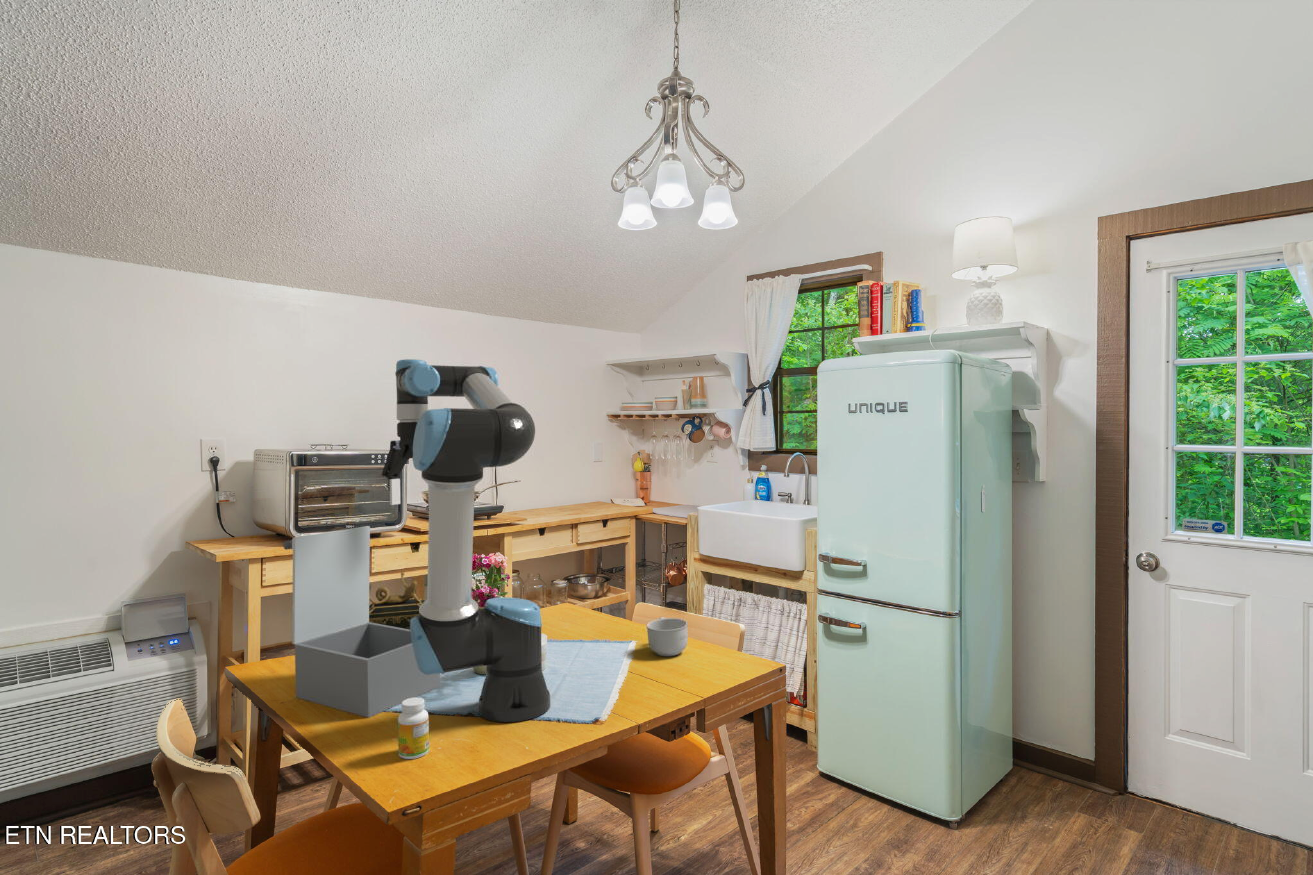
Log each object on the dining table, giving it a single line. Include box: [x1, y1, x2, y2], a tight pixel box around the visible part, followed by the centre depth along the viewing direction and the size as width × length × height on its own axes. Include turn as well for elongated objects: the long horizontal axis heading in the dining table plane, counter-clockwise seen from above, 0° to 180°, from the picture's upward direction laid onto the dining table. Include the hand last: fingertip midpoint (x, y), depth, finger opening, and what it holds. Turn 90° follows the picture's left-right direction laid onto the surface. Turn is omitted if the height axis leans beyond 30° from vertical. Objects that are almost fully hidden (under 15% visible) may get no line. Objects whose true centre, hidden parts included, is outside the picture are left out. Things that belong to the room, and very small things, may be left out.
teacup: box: [646, 616, 689, 657], centre depth 190 cm, size 14×11×8 cm
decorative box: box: [369, 570, 426, 630], centre depth 198 cm, size 20×10×20 cm, turn 107°
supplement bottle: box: [397, 696, 430, 760], centre depth 132 cm, size 5×5×10 cm
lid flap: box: [282, 525, 371, 645], centre depth 171 cm, size 24×20×9 cm
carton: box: [294, 622, 441, 719], centre depth 163 cm, size 24×20×12 cm
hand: (414, 505), depth 180 cm, fingers open, 13 cm apart
